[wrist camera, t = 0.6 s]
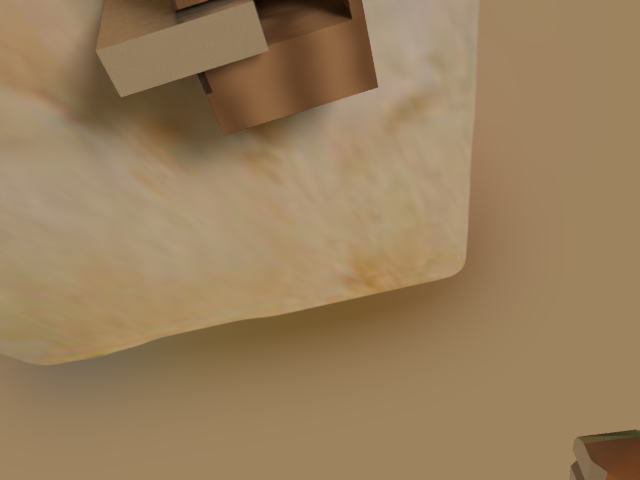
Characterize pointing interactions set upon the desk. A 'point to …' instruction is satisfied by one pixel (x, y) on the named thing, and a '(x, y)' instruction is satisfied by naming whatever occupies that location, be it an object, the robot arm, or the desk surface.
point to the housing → (292, 62)
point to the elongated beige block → (174, 40)
